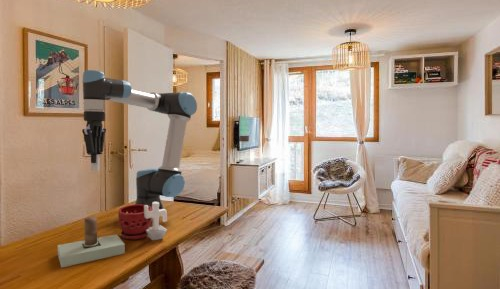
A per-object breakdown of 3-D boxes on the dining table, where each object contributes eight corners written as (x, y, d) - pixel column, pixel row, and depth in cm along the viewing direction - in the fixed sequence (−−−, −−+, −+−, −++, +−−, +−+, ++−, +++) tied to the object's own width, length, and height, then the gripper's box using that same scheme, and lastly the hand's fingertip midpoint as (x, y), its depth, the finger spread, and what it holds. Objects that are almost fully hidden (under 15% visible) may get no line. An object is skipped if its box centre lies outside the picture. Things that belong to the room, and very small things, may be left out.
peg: (96, 250, 117) (96, 216, 116) (99, 254, 113) (98, 219, 112) (83, 253, 114) (82, 218, 113) (85, 257, 110) (84, 221, 110)
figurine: (170, 238, 130) (169, 202, 129) (147, 243, 125) (147, 206, 123) (163, 233, 136) (163, 199, 135) (141, 237, 130) (141, 202, 129)
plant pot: (112, 237, 130) (111, 209, 129) (139, 228, 141) (138, 202, 140) (131, 244, 123) (131, 214, 122) (158, 234, 134) (158, 207, 133)
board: (116, 242, 124) (116, 234, 124) (124, 253, 115) (124, 244, 114) (57, 254, 112) (57, 245, 112) (61, 267, 103) (60, 257, 102)
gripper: (94, 111, 129) (95, 168, 131) (74, 110, 116) (76, 173, 118) (112, 111, 128) (113, 168, 130) (94, 110, 115) (95, 173, 117)
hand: (95, 170), depth 124 cm, fingers closed
